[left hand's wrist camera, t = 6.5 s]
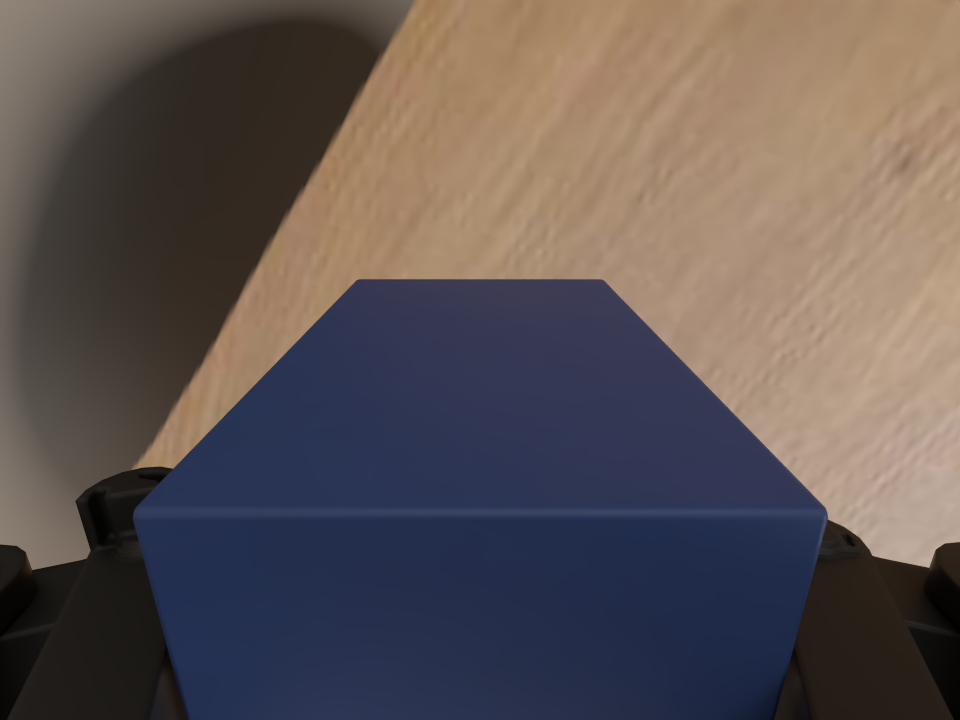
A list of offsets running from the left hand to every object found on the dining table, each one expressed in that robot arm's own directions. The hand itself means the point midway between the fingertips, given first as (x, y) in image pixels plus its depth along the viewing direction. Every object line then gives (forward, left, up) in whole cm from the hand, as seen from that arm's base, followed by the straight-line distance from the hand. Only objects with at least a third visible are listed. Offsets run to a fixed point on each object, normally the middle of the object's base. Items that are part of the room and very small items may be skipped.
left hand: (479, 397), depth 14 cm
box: (+7, +6, -1) cm, 9 cm away
